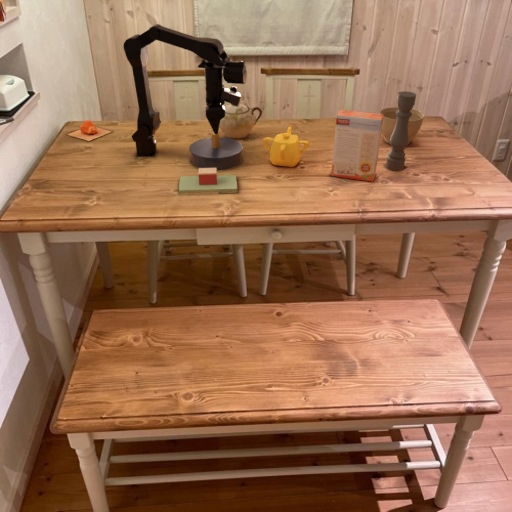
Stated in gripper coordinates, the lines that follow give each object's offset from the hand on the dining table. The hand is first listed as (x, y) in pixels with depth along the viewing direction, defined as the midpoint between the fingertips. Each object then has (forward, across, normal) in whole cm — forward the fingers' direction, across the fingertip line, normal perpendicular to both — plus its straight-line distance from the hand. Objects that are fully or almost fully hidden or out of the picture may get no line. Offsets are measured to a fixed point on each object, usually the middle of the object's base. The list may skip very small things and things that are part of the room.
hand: (216, 129), depth 175 cm
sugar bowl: (+12, +24, -8) cm, 28 cm away
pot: (+12, 0, 0) cm, 12 cm away
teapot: (+12, -2, -24) cm, 27 cm away
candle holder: (+12, -9, -61) cm, 63 cm away
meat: (+10, -20, +3) cm, 22 cm away
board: (+12, -20, +3) cm, 23 cm away
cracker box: (+12, -15, -45) cm, 49 cm away
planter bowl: (+12, +14, -69) cm, 71 cm away
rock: (+11, +29, +49) cm, 58 cm away
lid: (+7, 0, 0) cm, 7 cm away
